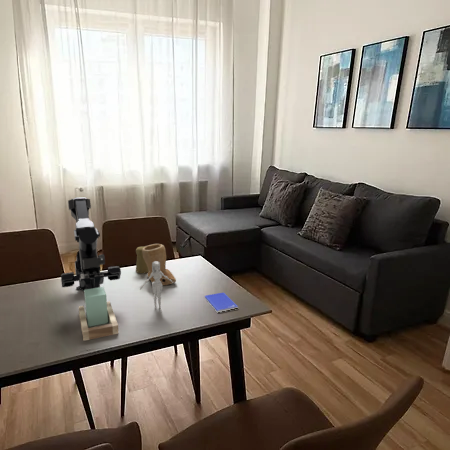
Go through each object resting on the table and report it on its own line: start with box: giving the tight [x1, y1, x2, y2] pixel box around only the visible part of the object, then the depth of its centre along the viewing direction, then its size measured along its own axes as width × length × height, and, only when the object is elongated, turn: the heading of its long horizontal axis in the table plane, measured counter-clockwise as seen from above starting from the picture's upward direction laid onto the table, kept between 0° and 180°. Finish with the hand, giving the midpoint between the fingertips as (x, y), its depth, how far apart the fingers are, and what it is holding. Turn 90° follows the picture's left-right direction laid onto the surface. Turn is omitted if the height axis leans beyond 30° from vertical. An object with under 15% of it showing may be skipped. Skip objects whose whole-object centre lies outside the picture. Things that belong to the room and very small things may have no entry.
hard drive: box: [204, 292, 239, 314], centre depth 134 cm, size 2×8×12 cm
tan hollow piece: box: [142, 243, 177, 286], centre depth 152 cm, size 15×12×15 cm
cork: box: [135, 246, 149, 274], centre depth 161 cm, size 6×6×11 cm
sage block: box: [83, 286, 109, 328], centre depth 117 cm, size 6×6×10 cm
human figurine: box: [139, 261, 173, 313], centre depth 126 cm, size 12×4×18 cm, turn 122°
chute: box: [78, 300, 120, 342], centre depth 117 cm, size 17×10×4 cm, turn 25°
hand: (94, 300), depth 120 cm, fingers closed, pressing on sage block
